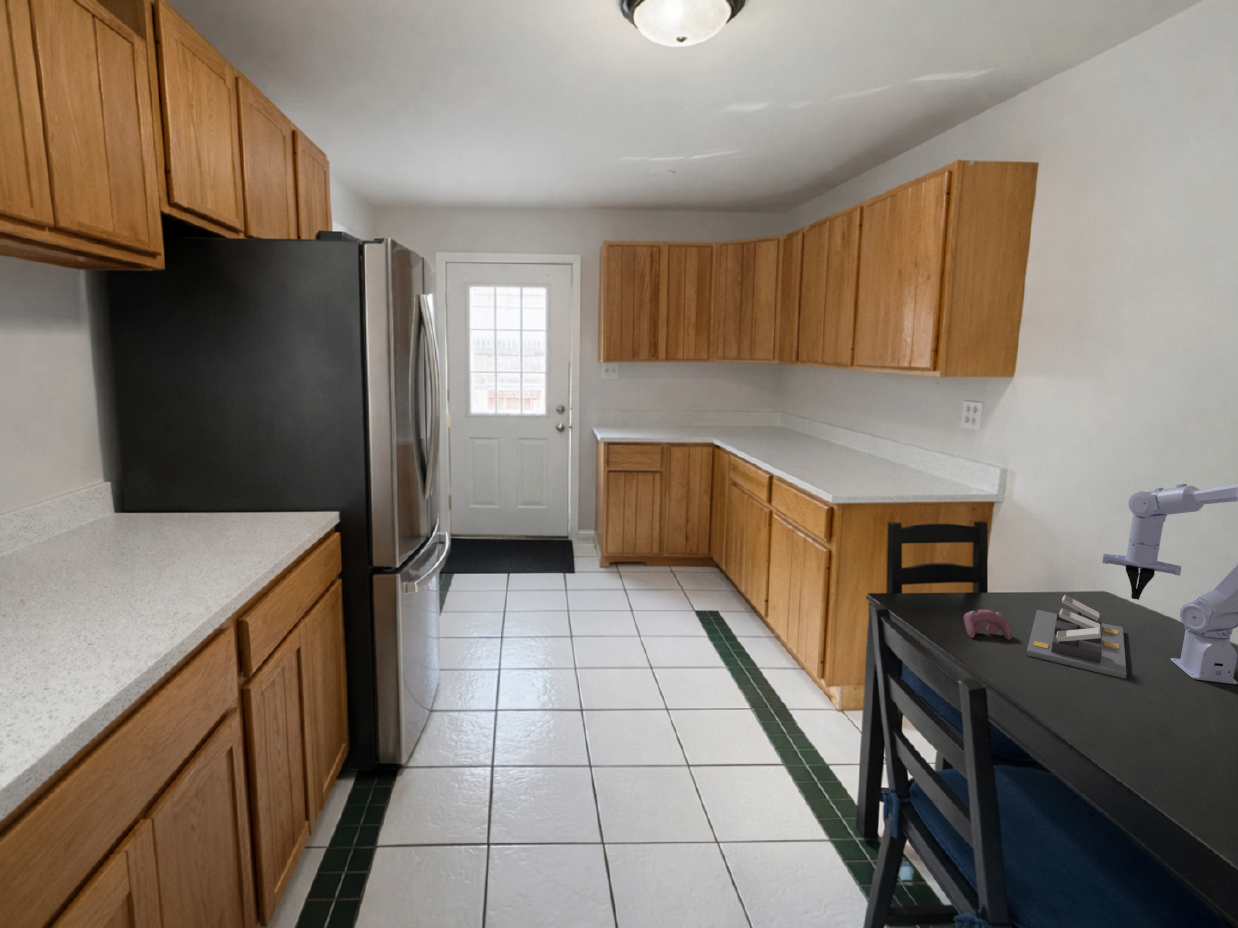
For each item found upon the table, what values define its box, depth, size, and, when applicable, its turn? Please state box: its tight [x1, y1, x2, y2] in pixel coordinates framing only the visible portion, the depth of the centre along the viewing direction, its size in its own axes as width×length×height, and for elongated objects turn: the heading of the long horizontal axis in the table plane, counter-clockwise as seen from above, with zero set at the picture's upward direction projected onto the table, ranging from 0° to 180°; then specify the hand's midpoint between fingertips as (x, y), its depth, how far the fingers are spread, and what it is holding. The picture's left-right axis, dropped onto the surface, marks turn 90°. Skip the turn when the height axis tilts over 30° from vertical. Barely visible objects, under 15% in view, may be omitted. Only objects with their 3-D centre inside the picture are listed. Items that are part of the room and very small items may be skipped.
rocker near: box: [1057, 628, 1101, 642], centre depth 151 cm, size 8×4×1 cm, turn 55°
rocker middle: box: [1059, 608, 1100, 629], centre depth 159 cm, size 8×4×1 cm, turn 56°
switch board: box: [1025, 607, 1127, 680], centre depth 159 cm, size 18×30×5 cm, turn 145°
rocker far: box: [1061, 594, 1100, 621], centre depth 167 cm, size 8×4×1 cm, turn 56°
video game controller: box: [963, 609, 1013, 641], centre depth 163 cm, size 10×5×7 cm, turn 85°
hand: (1135, 598), depth 161 cm, fingers closed
